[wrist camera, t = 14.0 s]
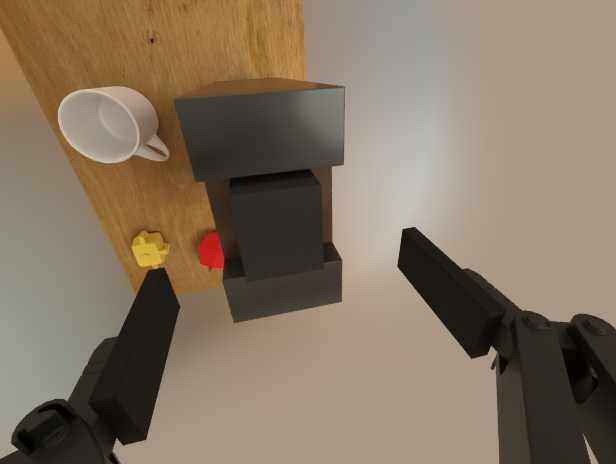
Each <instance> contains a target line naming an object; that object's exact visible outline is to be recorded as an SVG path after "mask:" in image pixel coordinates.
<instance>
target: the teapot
mask: <svg viewBox="0 0 616 464" xmlns="http://www.w3.org/2000/svg"><path fill="white" fill-rule="evenodd" d="M170 248H171V247H170V244H165V243H164V241H163V238H162V236H161V234H160V233H159V232H157V233H149V234H148V233H147V232H146V231H141V233H140V235H137V236H136V237H135V239H134V241H133V244H132V250H133V252H134V255H135V257H136V259H137V261H138V263H139V265H140V266H141V267H143V266H149V265H152V267H153V269H158V264H161V263H162V262H163V261H164V259H165V258H166V256H167V253H168V252H169V250H170Z"/></svg>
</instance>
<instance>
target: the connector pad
mask: <svg viewBox="0 0 616 464" xmlns="http://www.w3.org/2000/svg"><path fill="white" fill-rule="evenodd" d="M229 202H230V207H231V211H232V216H233V221H234V226H235V230H236V235H237V240H238V244H239V249H240V254H241V259H242V263H243V268H244V273H245V277H246V282H253V281H259V280H264V279H270V278H276V277H281V276H287V275H293V274H298V273H304V272H310V271H315V270H321V269H324V254H323V217H322V185H321V183H320V182H319V181H318V179H317V178H316V177H315V175H314V174H313V173H312V171H311V170H310V169H305V170H297V171H288V172H280V173H271V174H263V175H254V176H246V177H237V178H230V185H229Z"/></svg>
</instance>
